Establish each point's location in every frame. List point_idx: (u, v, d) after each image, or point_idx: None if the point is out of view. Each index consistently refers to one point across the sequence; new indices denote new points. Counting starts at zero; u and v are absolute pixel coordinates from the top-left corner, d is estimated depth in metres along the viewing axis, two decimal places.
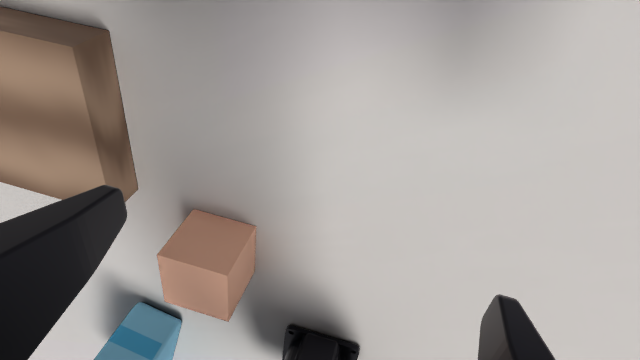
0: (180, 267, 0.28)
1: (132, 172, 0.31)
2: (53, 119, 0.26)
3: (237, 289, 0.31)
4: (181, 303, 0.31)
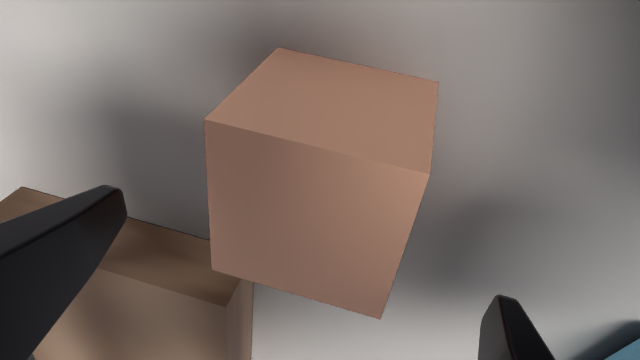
0: (230, 234, 0.11)
1: None
2: (84, 300, 0.19)
3: (361, 120, 0.10)
4: (376, 283, 0.11)
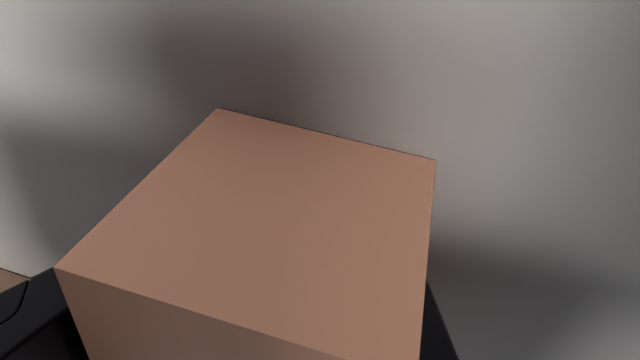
0: None
1: None
2: None
3: (313, 251, 0.07)
4: None
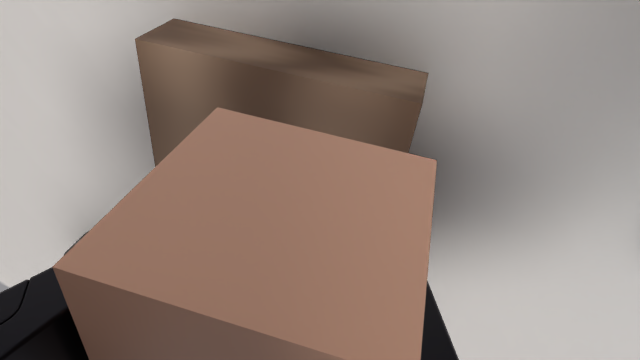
0: None
1: (387, 67, 0.18)
2: None
3: (314, 251, 0.07)
4: None
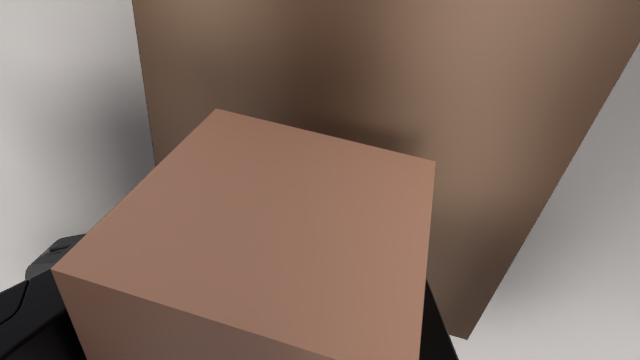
0: None
1: None
2: (314, 55, 0.11)
3: (312, 253, 0.07)
4: None
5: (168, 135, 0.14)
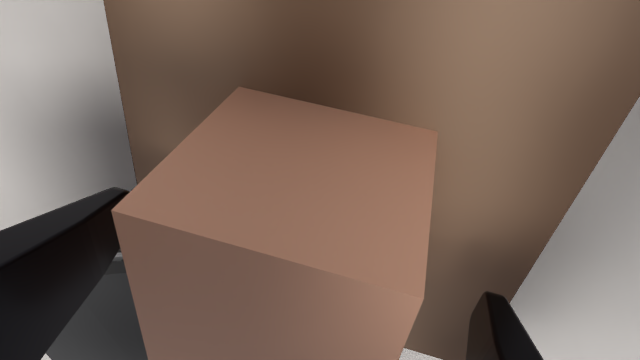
0: (166, 339, 0.09)
1: None
2: (303, 69, 0.10)
3: (332, 201, 0.08)
4: None
5: (149, 152, 0.13)
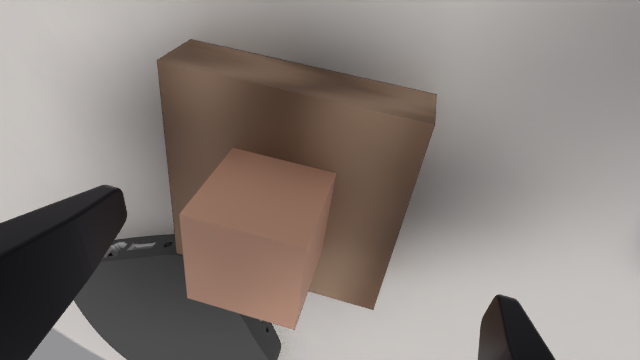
0: (197, 277, 0.18)
1: (398, 88, 0.19)
2: (266, 141, 0.19)
3: (275, 210, 0.17)
4: (288, 307, 0.18)
5: (180, 180, 0.22)
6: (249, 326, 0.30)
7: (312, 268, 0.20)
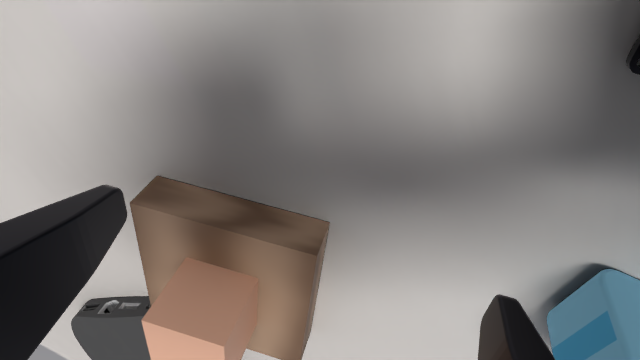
0: (157, 355, 0.26)
1: (302, 218, 0.27)
2: (208, 255, 0.27)
3: (208, 314, 0.25)
4: None
5: (151, 273, 0.30)
6: None
7: (241, 345, 0.27)
